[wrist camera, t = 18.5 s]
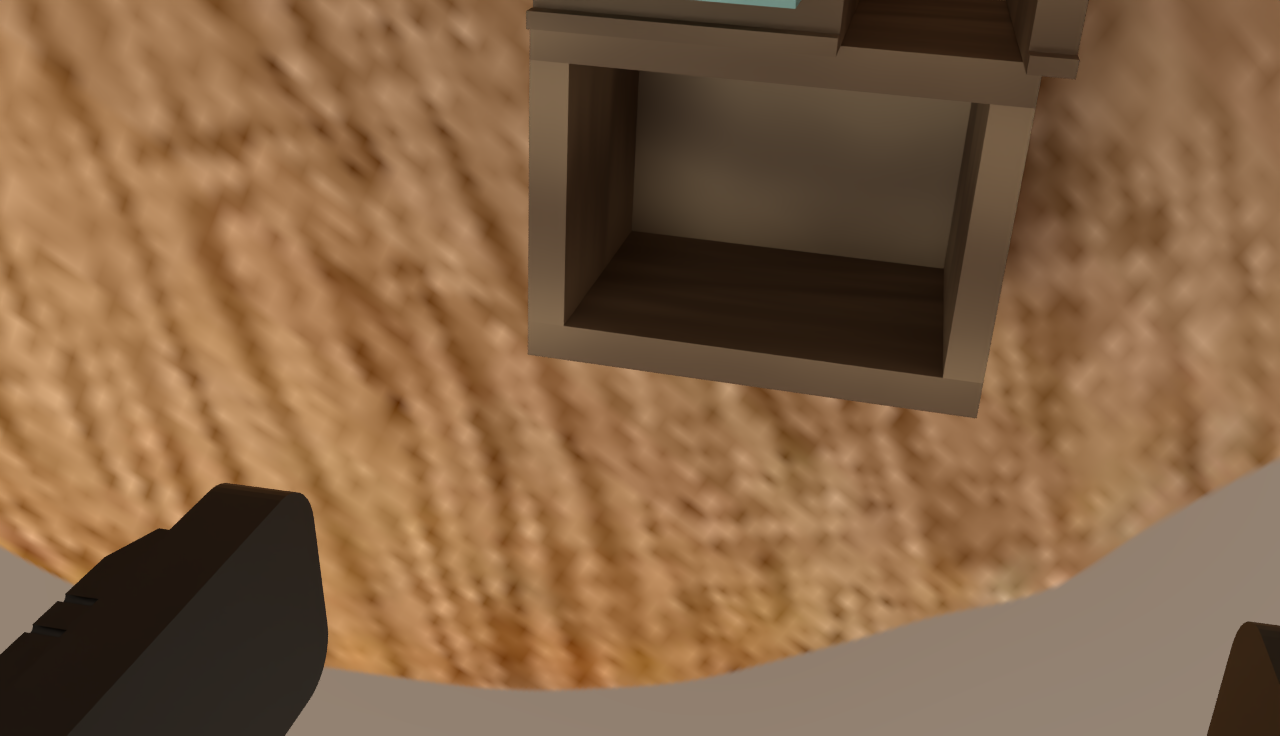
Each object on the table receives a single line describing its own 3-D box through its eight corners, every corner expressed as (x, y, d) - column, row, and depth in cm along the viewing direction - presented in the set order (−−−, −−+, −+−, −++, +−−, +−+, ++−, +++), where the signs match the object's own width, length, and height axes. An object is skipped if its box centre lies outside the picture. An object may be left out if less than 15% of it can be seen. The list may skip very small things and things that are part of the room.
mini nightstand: (624, -178, 35) (504, -165, 26) (1068, -151, 33) (1117, -127, 24) (608, 245, 41) (506, 383, 32) (986, 292, 39) (999, 456, 29)
